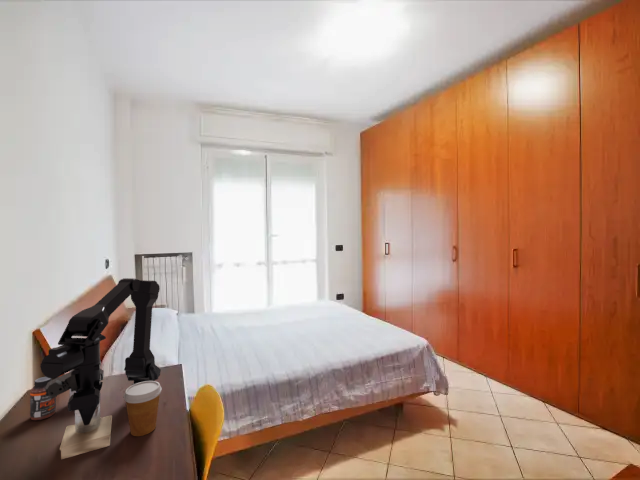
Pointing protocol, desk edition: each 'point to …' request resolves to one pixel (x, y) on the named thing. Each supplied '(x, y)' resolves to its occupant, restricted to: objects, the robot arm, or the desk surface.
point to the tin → (93, 424)
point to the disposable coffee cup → (142, 406)
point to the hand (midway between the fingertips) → (88, 419)
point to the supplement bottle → (41, 400)
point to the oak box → (86, 439)
